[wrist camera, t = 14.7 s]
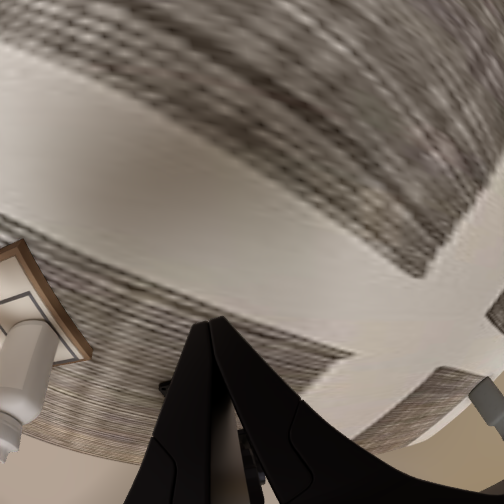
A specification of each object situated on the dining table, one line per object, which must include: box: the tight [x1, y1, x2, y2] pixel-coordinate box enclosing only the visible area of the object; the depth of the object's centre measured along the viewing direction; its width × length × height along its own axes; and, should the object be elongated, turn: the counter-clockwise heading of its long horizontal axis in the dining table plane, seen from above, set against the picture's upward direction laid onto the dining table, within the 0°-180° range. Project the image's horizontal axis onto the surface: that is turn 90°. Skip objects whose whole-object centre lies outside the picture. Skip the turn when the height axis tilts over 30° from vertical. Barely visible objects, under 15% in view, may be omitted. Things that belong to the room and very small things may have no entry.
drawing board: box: [0, 239, 93, 367], centre depth 19 cm, size 12×11×2 cm
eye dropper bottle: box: [0, 320, 59, 463], centre depth 15 cm, size 4×6×12 cm
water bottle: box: [469, 377, 504, 440], centre depth 60 cm, size 10×10×28 cm
